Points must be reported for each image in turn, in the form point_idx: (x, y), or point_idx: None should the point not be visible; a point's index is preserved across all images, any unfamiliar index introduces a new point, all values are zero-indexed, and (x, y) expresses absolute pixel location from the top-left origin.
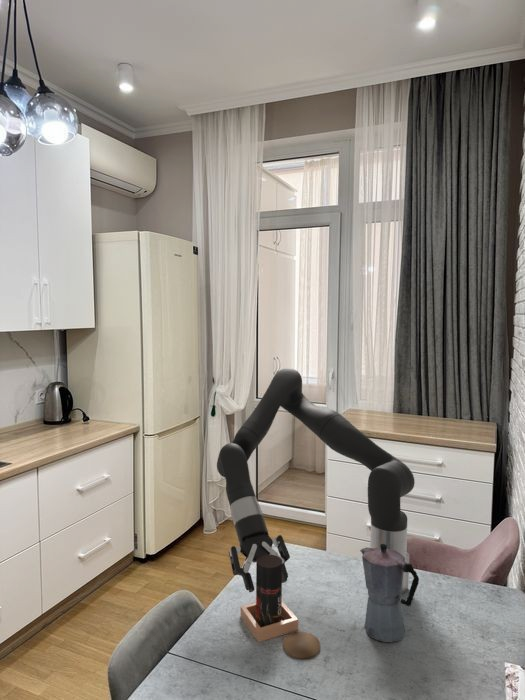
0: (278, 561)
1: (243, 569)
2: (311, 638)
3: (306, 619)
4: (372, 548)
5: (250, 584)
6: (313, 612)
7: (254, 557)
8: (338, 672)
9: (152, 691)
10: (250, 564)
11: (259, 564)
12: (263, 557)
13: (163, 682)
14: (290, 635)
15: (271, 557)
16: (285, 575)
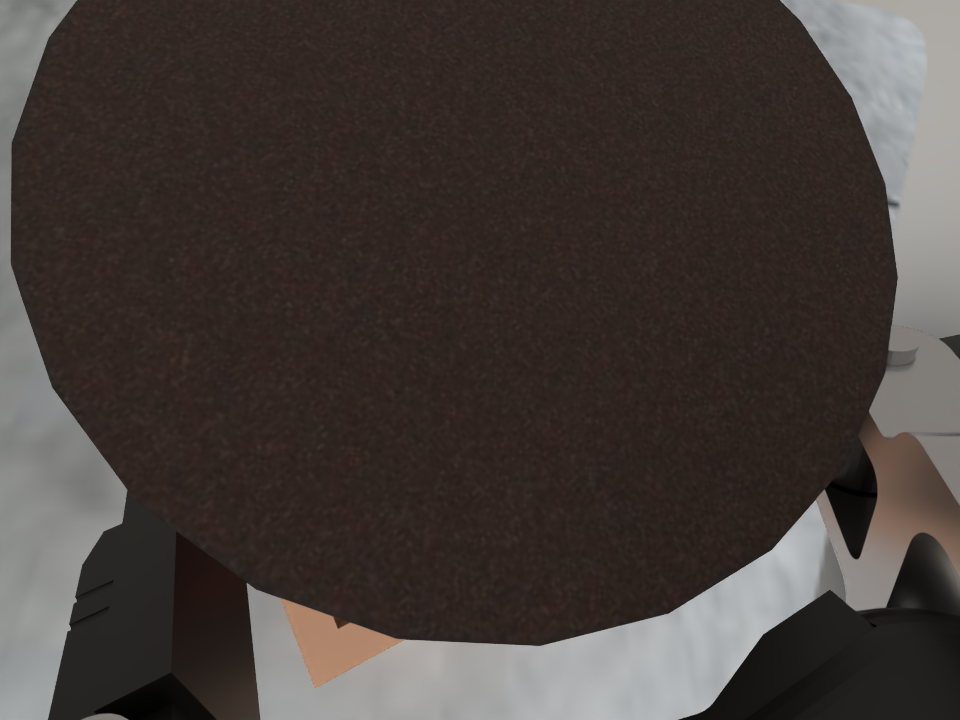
0: (175, 111)
1: (945, 360)
2: None
3: (111, 477)
4: None
5: None
6: (19, 574)
7: (925, 637)
8: (46, 3)
9: (894, 21)
10: (893, 436)
11: (776, 25)
12: (713, 397)
13: (872, 55)
14: None
15: (417, 403)
16: (136, 515)
